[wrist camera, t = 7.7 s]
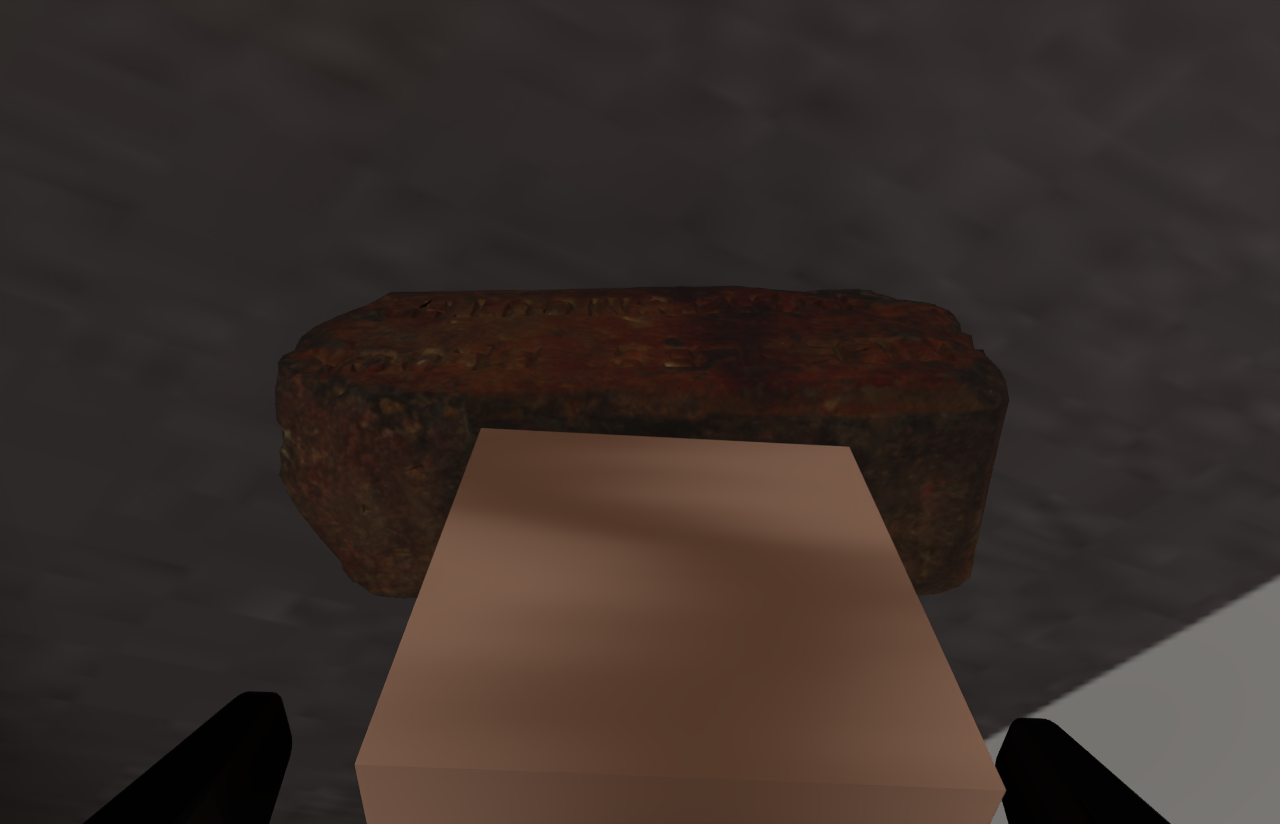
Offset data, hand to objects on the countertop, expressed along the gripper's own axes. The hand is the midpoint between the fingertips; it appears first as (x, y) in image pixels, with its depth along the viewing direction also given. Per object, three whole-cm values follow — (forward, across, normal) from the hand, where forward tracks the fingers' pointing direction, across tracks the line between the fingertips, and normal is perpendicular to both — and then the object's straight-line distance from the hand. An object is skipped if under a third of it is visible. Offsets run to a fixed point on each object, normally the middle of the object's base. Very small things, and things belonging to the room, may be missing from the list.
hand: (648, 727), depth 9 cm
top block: (+2, 0, 0) cm, 3 cm away
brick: (+7, 0, -1) cm, 8 cm away
